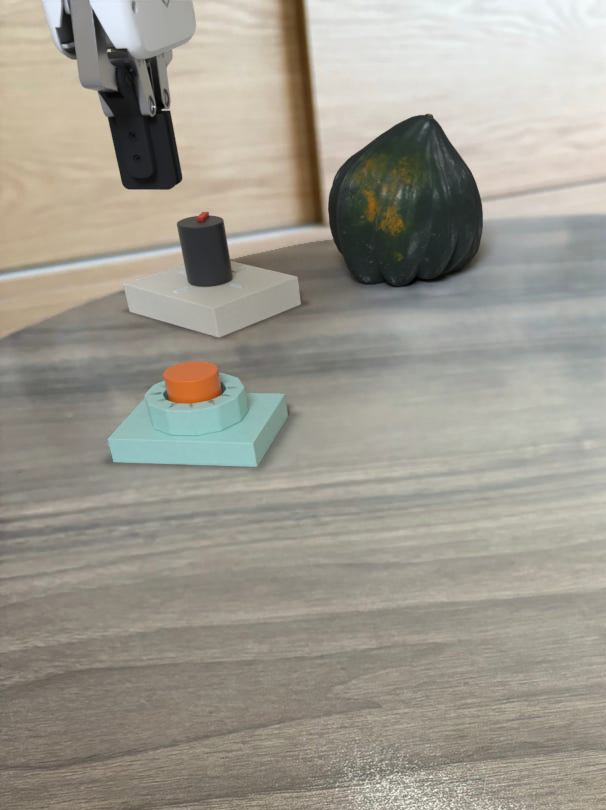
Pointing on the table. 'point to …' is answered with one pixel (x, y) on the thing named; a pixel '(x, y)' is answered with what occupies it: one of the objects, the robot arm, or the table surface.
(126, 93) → the robot arm
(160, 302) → the grey base plate
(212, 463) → the switch block
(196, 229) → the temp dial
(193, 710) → the table surface
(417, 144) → the squash
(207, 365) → the power button
